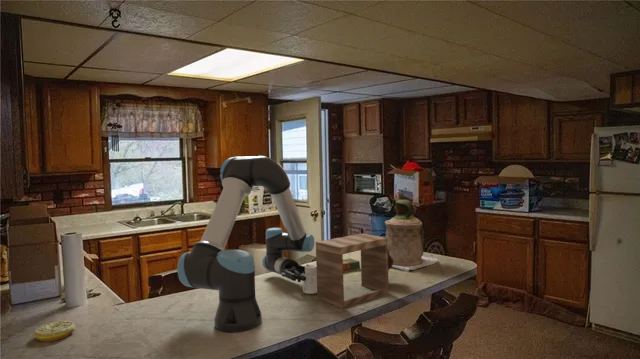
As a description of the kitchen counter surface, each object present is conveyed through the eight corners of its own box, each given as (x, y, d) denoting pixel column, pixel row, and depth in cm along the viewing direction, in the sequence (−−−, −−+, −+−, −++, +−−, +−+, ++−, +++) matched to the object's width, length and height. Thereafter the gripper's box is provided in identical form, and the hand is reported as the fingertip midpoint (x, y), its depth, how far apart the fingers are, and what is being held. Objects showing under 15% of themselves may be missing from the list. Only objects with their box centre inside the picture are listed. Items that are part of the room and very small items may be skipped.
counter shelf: (341, 307, 153) (339, 247, 152) (317, 298, 164) (315, 241, 163) (388, 293, 167) (387, 237, 166) (363, 285, 178) (362, 233, 177)
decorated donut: (83, 331, 139) (82, 320, 139) (51, 345, 129) (50, 333, 129) (59, 327, 143) (59, 316, 143) (27, 340, 133) (27, 328, 133)
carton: (321, 271, 203) (321, 262, 203) (350, 266, 211) (350, 257, 211) (330, 275, 196) (330, 265, 196) (360, 269, 204) (360, 260, 204)
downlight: (316, 286, 176) (314, 262, 175) (325, 291, 170) (323, 266, 169) (299, 291, 172) (297, 266, 171) (307, 296, 166) (306, 270, 165)
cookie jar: (409, 272, 195) (408, 202, 193) (368, 263, 213) (367, 199, 211) (440, 262, 212) (439, 197, 210) (399, 255, 230) (398, 194, 228)
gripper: (306, 271, 191) (339, 282, 173) (267, 280, 179) (299, 293, 161) (305, 255, 191) (339, 264, 173) (266, 262, 179) (298, 273, 161)
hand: (319, 278), depth 167 cm, fingers closed on downlight, 7 cm apart
